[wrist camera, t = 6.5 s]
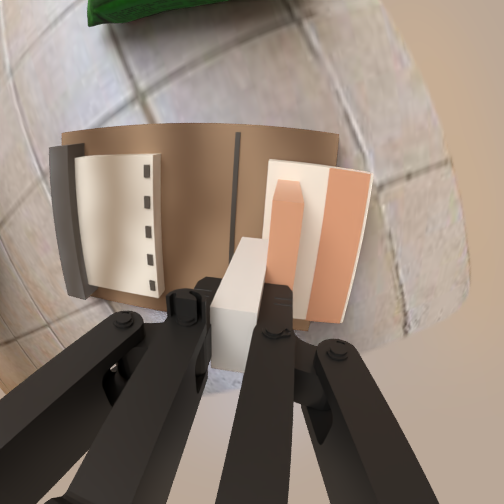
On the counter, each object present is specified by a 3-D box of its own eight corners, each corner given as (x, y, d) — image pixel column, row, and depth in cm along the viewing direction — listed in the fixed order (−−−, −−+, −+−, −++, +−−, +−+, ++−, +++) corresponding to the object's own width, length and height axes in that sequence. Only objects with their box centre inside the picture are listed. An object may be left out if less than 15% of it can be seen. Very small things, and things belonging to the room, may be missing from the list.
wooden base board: (84, 288, 24) (66, 304, 21) (69, 132, 18) (44, 134, 16) (307, 323, 22) (309, 348, 19) (336, 134, 17) (345, 134, 14)
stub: (257, 304, 21) (243, 372, 14) (269, 158, 17) (258, 172, 11) (340, 313, 20) (354, 381, 14) (368, 171, 16) (411, 193, 10)
